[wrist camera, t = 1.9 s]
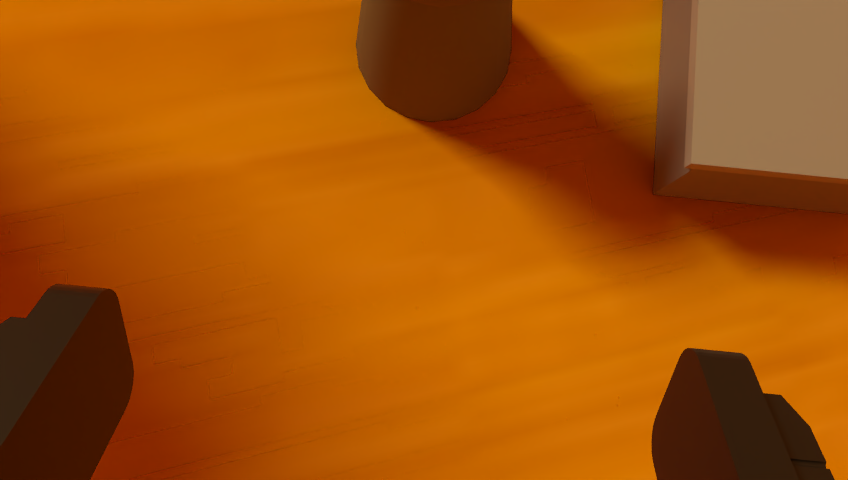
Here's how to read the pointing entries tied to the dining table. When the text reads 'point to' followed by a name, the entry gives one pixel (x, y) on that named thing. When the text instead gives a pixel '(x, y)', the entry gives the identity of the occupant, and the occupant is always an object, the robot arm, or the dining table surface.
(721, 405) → the robot arm
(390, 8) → the cork
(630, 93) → the dining table surface
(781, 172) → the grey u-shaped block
